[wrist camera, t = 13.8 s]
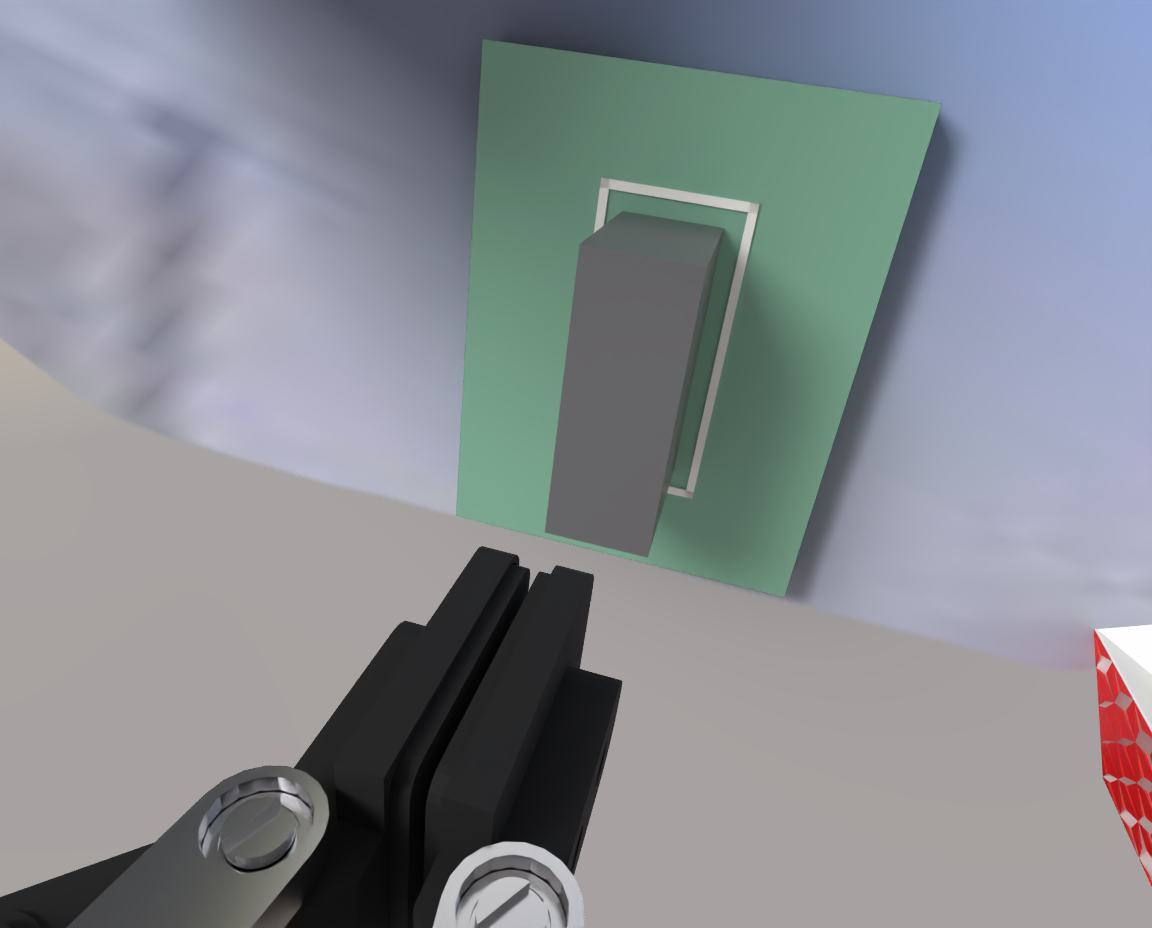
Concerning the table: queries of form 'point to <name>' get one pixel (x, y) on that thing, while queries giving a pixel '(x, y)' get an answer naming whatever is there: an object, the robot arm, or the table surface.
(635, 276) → the block
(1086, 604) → the table surface
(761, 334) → the header board
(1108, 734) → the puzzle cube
